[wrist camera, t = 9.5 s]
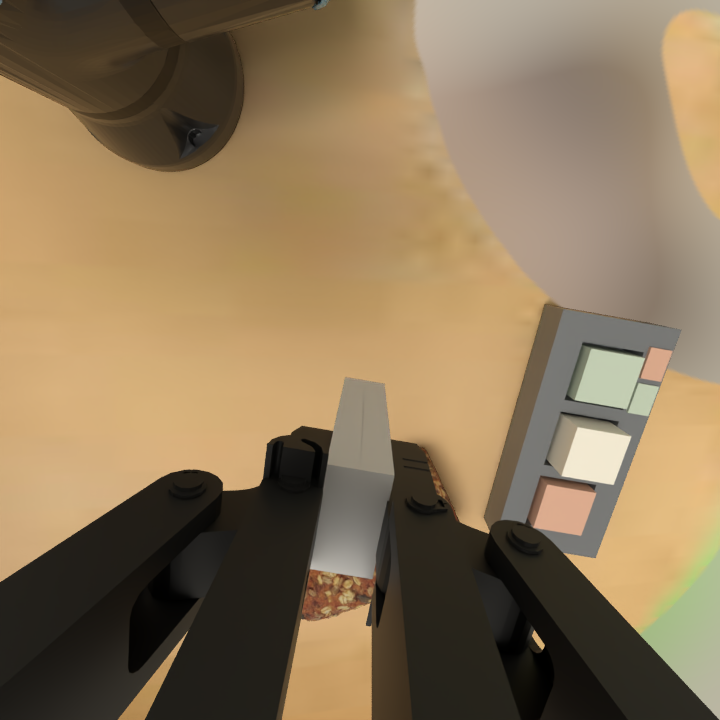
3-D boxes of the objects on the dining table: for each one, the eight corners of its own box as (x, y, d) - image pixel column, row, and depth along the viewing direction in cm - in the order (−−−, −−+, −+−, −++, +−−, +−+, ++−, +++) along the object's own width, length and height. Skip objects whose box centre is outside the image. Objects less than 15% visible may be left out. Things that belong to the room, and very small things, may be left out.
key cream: (559, 412, 39) (577, 427, 36) (608, 421, 39) (631, 436, 36) (545, 458, 40) (561, 476, 37) (593, 466, 40) (613, 485, 37)
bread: (315, 566, 48) (302, 643, 39) (276, 495, 46) (251, 557, 36) (460, 515, 46) (483, 583, 36) (426, 437, 44) (442, 487, 34)
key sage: (572, 341, 39) (591, 348, 36) (621, 349, 39) (645, 358, 36) (557, 388, 40) (574, 400, 37) (605, 396, 40) (626, 409, 37)
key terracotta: (533, 466, 43) (547, 484, 39) (578, 474, 43) (596, 493, 39) (520, 507, 44) (533, 527, 40) (564, 514, 44) (581, 535, 40)
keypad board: (544, 304, 40) (565, 309, 36) (651, 323, 40) (684, 330, 36) (483, 517, 46) (495, 543, 42) (576, 533, 46) (597, 560, 42)
